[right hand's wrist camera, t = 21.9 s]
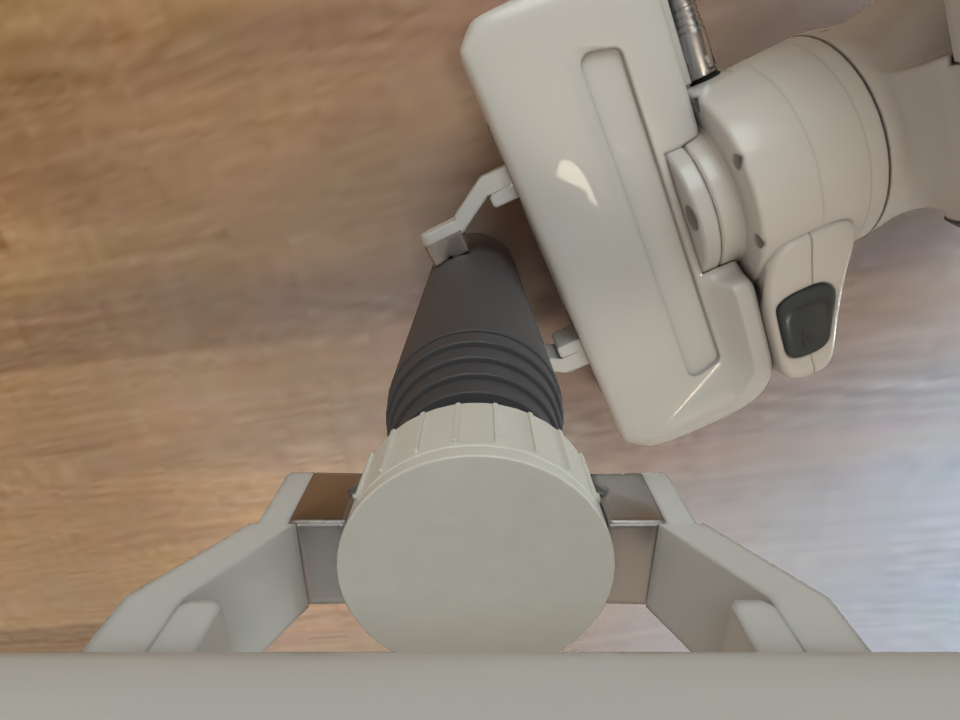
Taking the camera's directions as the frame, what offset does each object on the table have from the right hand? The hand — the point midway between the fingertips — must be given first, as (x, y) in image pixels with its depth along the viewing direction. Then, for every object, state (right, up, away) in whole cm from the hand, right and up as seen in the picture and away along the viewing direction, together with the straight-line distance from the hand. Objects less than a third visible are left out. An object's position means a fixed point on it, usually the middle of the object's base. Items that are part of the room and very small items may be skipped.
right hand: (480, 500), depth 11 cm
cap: (0, -1, -2) cm, 2 cm away
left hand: (-1, +5, +14) cm, 15 cm away
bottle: (0, +8, +19) cm, 20 cm away
